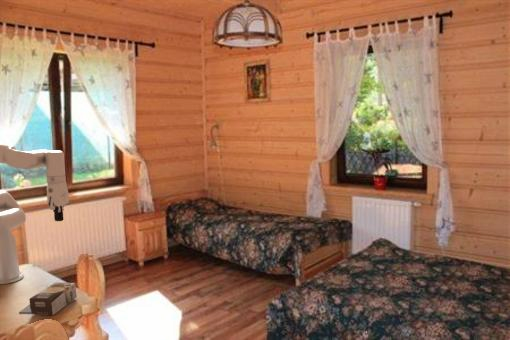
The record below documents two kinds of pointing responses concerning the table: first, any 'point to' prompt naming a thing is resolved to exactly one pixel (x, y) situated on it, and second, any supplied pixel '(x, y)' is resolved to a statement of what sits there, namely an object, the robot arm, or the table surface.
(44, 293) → the coffee box
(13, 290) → the table surface
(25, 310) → the mat
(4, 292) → the table surface
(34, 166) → the robot arm
